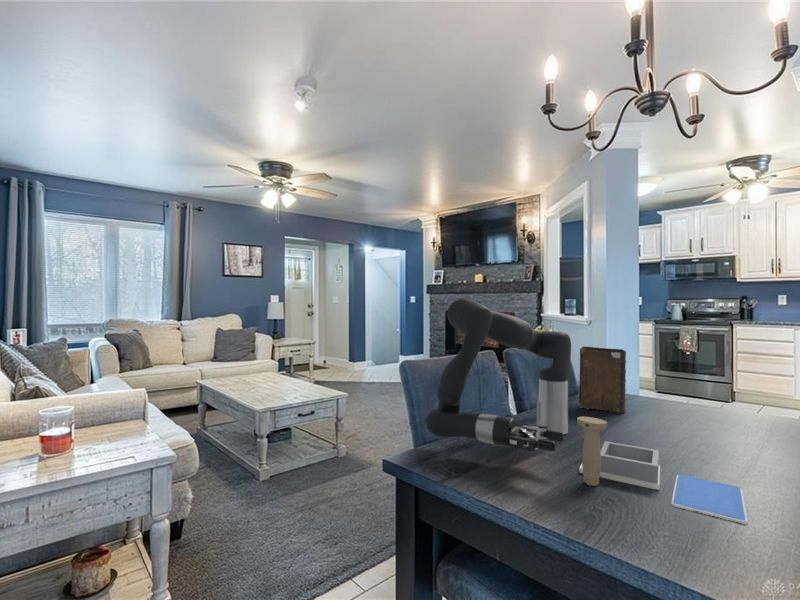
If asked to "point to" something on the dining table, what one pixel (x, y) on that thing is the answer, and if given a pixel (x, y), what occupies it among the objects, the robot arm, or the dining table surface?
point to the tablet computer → (709, 498)
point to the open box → (630, 464)
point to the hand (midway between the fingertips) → (559, 441)
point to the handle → (591, 448)
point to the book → (602, 379)
